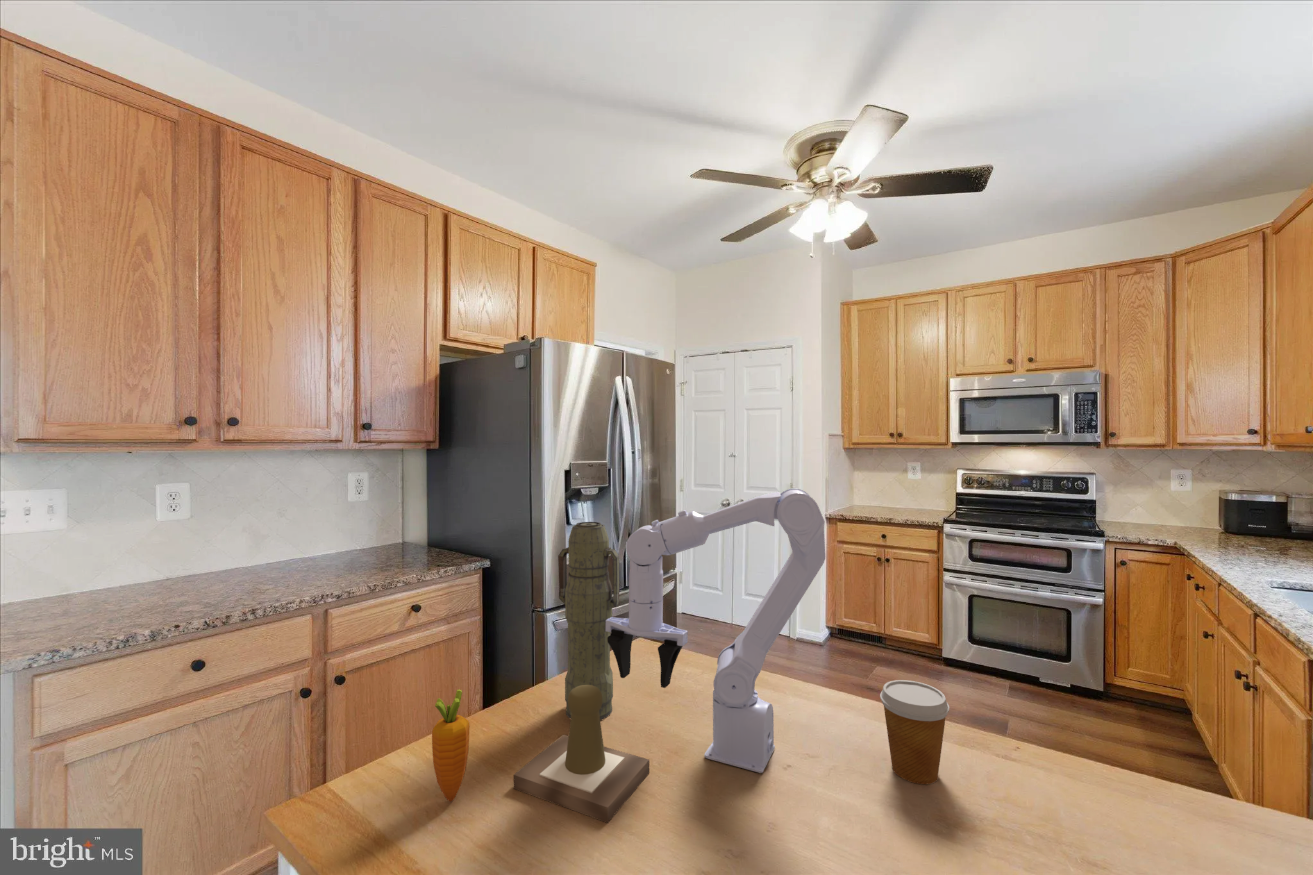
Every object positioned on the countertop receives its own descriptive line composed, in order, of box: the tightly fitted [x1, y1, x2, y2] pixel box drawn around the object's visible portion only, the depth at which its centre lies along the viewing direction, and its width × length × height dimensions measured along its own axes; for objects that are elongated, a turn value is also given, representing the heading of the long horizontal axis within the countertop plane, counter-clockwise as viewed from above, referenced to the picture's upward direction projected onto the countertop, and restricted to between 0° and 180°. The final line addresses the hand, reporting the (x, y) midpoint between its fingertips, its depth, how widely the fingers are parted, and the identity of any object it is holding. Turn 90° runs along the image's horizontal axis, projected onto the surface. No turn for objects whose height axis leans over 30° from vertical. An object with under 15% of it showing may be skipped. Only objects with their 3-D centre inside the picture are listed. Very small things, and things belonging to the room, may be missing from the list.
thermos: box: [557, 521, 620, 721], centre depth 101 cm, size 9×12×35 cm
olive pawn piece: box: [565, 685, 605, 775], centre depth 81 cm, size 6×6×11 cm
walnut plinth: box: [513, 734, 650, 824], centre depth 80 cm, size 16×12×2 cm
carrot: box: [431, 689, 470, 802], centre depth 75 cm, size 5×5×15 cm
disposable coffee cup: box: [879, 679, 950, 785], centre depth 82 cm, size 10×10×12 cm
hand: (644, 680), depth 90 cm, fingers open, 7 cm apart
